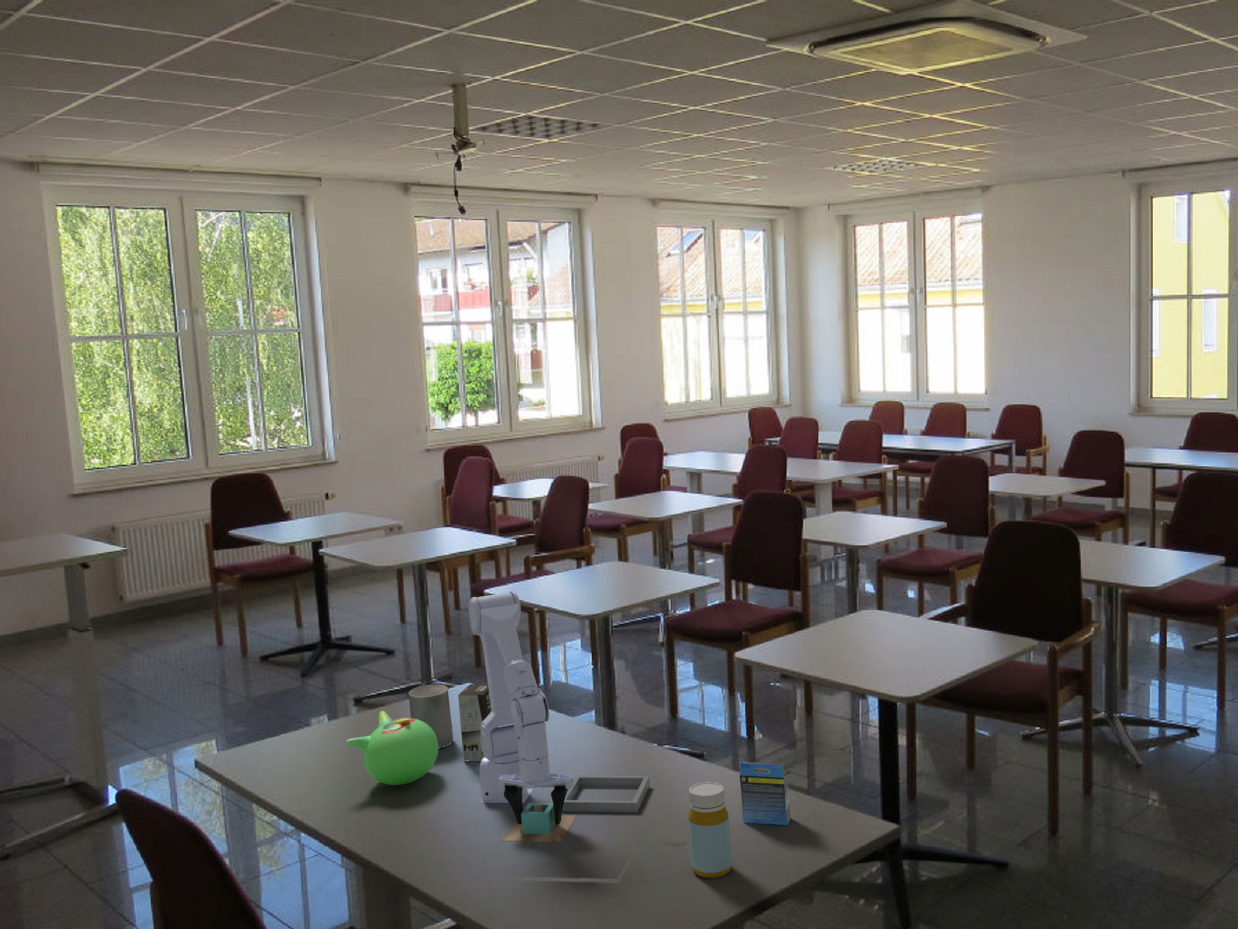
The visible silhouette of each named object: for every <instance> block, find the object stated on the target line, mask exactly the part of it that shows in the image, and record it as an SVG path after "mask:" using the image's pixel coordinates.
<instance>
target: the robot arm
mask: <svg viewBox="0 0 1238 929" xmlns="http://www.w3.org/2000/svg"><path fill="white" fill-rule="evenodd" d="M521 608H522V607H521V602H520V599H519V596H518V594H517V593H516V592H515V591H514V590H512V591H509V592H504V593H503V592H502V593H496V594H490V595H484V596H478V597H476V596H472V597H471V598H470V600H469V603H468V616H469V621H470V629H471V631H472V635H474V636H479V637H480V640H481V643H482V649H483V658H484V664H485V672H486V679H487V683H488V688H489V696H490V703H491V713H490V714H489V715H488V716H487V717H486V718H485V720H484V721H483V722H482V723H481V726H480V729H481V738H480V739H481V747H482V751H483V754H484V756H485V757H484V758H483V759H482V761H480V764H479V781H480V782H479V783H480V793H481V795H480V796H481V801H480V803H485V804H486V803H489V804H490V803H493V804H495V803H498V804H499V803H504V804H505V803H506V804H509V805H510V808H511V810H512V811H513V813H514V816H515V821H516V820H517V823H518V824H521V823H522V819H521V813H522V812H523V810H524V805H523V803H525V802H526V800H527V799H528V798H529V796H530V795H531V793H532V792H533V790H534V789H535V788H553V789H552V791H551V792H550V797H551V800H552V803H553V806H554V820H555V825H559V824H560V822H561V816H562V815H563V814H562V813H563V811H562V809H563V804H564V800H565V797H566V794H567V791H568V789H571V788H572V786H573V780H574V779H573V776H572V775H568V774H567V775H566V774H565V775H564V774H559V773H554V772H550V762H549V761H550V759H549V750H548V737H547V726H546V725H547V724H546V723H548V721H549V718H550V709H549V702H548V699H547V696H546V695H545V693H544V692H543V691H542V689H541V687H538V684H537V681H536V678H535V674H534V671H533V669H532V666H531V663H530V662H528V661H526V660H524V659H523V654H522V648H521V645H520V639H519V634H518V631H517V627H518V626H519V623H520V617H521V615H522V614H521V613H522V611H521V610H522V609H521ZM545 722H546V723H545ZM496 727H498V728H496Z"/></svg>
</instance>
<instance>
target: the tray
mask: <svg viewBox="0 0 1238 929" xmlns="http://www.w3.org/2000/svg"><path fill="white" fill-rule="evenodd" d="M580 789H631V790H632V789H637V791H636V793H635V794H634V797H633V800H593V799H592V800H589V799H588V800H587V799H586V800H585V799H584V800H583V799H582V800H581V799H578V800H577V799H576V800H575V799H574V798H575V796H576V795H577V793H578V790H580ZM650 789H651V782H650V775H576V776H575V777H574V779H573V786H572V788H571V789H568V791H567V794H566V797H565V800H564V804H563V809H562V812H575V813H577V812H578V813H579V812H587V813H588V812H590V813H591V812H593V813H596V812H597V813H638V812H639V809H640V808H641V805H642V803H643V800H644V799H645V796H646V794H647V793H648V791H649V790H650Z"/></svg>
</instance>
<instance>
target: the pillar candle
mask: <svg viewBox="0 0 1238 929" xmlns="http://www.w3.org/2000/svg"><path fill="white" fill-rule="evenodd" d="M408 699H409V700H408V701H409V702H408V703H409V711H410V712H409V713H410V718H413V719H418V720H420V721H423V722H425V723H426V724H427V725H429V726H430V727H431V728H432V730H433V731H434V733H435V735H436V737H437V740H438V748H439V747H442V746H447V745H449V744H450V743H452V742H454V736H453V735H454V733H453V725H452V724H453V723H452V717H451V716H452V714H451V707H450V698H449V688H448V686H446V685H445V684H438V683H437V684H436V683H435V684H426V685H425V684H424V685H422V686H421V685H420V686H417V687H414V688H412V689H411V690H409V691H408ZM452 744H453V743H452ZM449 746H450V745H449ZM447 747H448V746H447Z"/></svg>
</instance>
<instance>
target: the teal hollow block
mask: <svg viewBox="0 0 1238 929" xmlns="http://www.w3.org/2000/svg"><path fill="white" fill-rule="evenodd" d="M535 804H542V810H543V812H534V805H535ZM521 819H522V830H523V834H550V832H551V831H552V829H553V827H554V826H555V820H554V806H553V802H528V803H527V805H526V806H525V807H524V808H523V812H522V813H521Z"/></svg>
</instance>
